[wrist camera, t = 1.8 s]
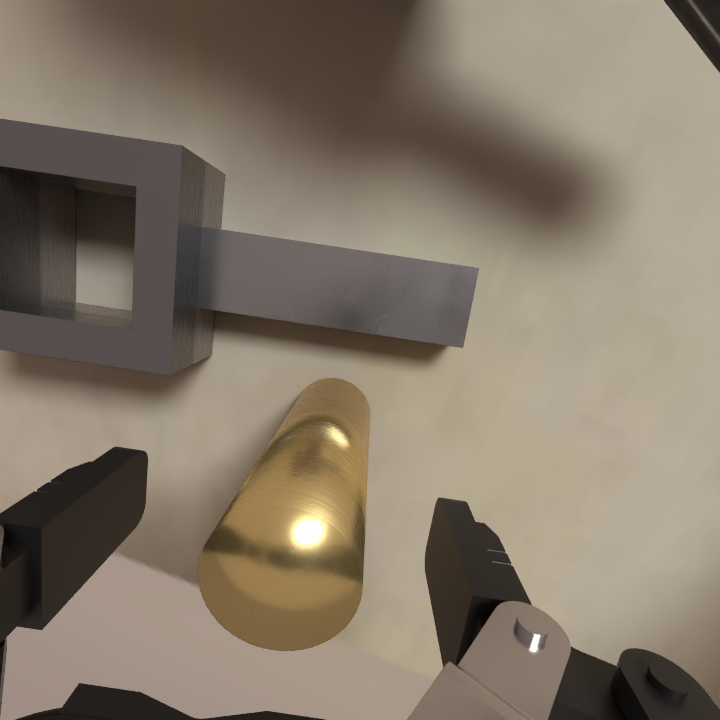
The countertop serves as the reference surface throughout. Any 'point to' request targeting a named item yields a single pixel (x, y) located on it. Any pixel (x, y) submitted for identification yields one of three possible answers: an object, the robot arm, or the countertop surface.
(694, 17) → the toy gun
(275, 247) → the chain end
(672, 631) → the countertop surface
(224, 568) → the pin
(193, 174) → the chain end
